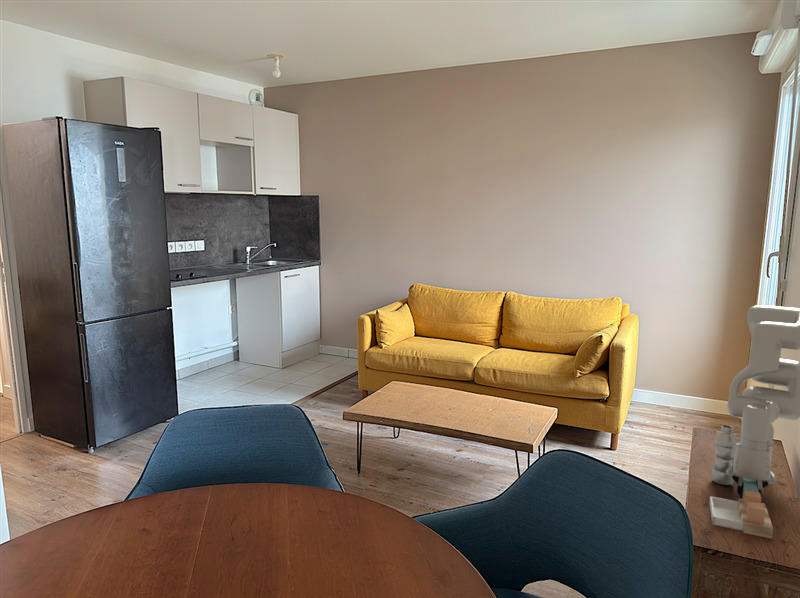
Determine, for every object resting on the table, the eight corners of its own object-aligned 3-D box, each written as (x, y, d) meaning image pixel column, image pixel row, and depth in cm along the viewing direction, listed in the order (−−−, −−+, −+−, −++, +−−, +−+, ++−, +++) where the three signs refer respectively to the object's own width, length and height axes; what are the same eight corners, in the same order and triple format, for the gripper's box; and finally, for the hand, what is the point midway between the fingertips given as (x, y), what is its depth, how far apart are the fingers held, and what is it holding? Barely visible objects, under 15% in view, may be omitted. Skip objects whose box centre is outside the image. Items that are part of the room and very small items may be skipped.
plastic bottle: (714, 477, 198) (719, 421, 196) (736, 483, 194) (741, 427, 191) (708, 482, 194) (713, 426, 191) (730, 489, 189) (735, 432, 186)
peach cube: (745, 514, 167) (747, 501, 167) (761, 517, 166) (763, 504, 165) (747, 520, 164) (748, 507, 163) (763, 523, 162) (765, 510, 162)
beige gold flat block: (737, 507, 177) (738, 498, 177) (763, 512, 174) (764, 503, 174) (743, 532, 163) (744, 522, 162) (772, 538, 160) (773, 528, 159)
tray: (709, 503, 180) (709, 496, 179) (737, 509, 176) (738, 501, 176) (712, 524, 167) (712, 516, 167) (743, 531, 164) (743, 522, 163)
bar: (739, 490, 188) (741, 473, 187) (751, 492, 187) (753, 475, 186) (743, 507, 178) (745, 488, 177) (756, 509, 176) (758, 491, 175)
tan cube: (742, 502, 175) (744, 489, 174) (758, 505, 173) (759, 492, 172) (744, 507, 171) (745, 495, 170) (760, 511, 169) (761, 498, 169)
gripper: (782, 443, 179) (776, 498, 182) (722, 434, 186) (717, 487, 189) (787, 452, 173) (780, 509, 175) (724, 442, 180) (719, 497, 182)
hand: (748, 497), depth 182 cm, fingers closed on bar, 3 cm apart
